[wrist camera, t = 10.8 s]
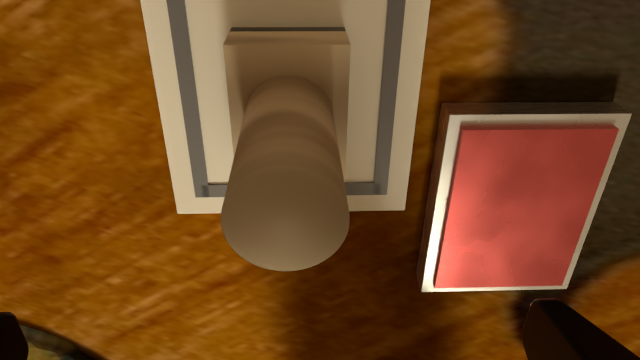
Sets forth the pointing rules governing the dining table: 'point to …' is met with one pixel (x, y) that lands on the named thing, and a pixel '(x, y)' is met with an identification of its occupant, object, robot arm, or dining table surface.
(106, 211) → the dining table surface
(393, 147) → the card
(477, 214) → the ink pad
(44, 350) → the olive brown oval relief
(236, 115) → the stamp
